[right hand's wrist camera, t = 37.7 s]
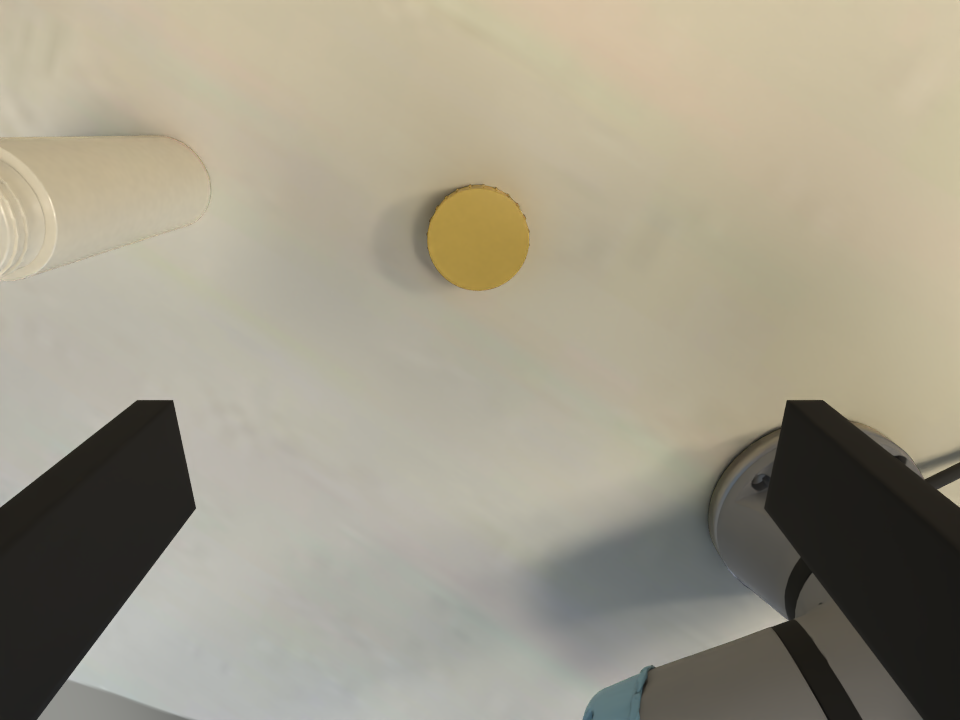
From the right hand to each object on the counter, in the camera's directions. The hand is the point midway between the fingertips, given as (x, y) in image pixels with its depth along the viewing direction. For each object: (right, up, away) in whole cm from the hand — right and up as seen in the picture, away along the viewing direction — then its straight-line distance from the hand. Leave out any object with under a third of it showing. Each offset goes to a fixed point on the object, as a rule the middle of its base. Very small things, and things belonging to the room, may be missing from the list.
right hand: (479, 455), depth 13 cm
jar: (-20, +13, +24) cm, 34 cm away
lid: (0, +9, +23) cm, 25 cm away
